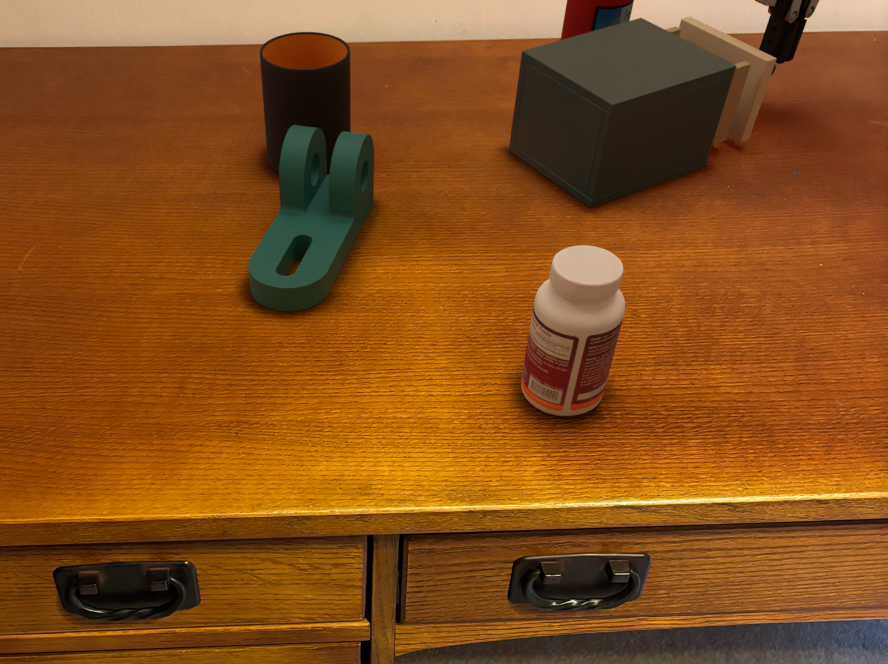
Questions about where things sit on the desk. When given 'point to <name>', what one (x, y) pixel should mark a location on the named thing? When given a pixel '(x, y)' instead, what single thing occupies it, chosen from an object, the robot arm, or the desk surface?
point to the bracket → (313, 218)
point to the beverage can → (594, 15)
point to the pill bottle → (574, 331)
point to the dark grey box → (618, 109)
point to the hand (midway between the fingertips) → (774, 57)
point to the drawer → (746, 79)
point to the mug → (305, 88)
